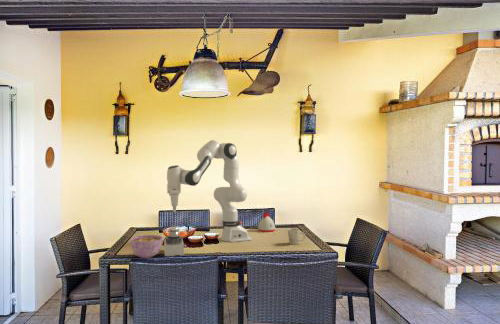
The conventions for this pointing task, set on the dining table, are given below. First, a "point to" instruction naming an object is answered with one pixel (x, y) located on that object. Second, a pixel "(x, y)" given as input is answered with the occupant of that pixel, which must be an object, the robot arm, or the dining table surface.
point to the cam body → (173, 246)
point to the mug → (294, 235)
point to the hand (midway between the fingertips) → (174, 211)
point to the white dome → (266, 224)
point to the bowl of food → (146, 245)
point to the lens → (173, 232)
